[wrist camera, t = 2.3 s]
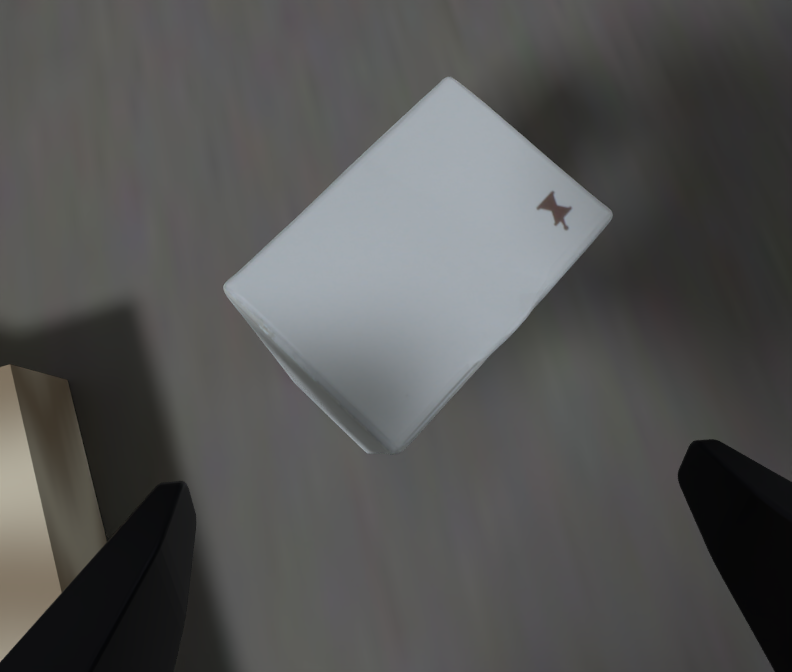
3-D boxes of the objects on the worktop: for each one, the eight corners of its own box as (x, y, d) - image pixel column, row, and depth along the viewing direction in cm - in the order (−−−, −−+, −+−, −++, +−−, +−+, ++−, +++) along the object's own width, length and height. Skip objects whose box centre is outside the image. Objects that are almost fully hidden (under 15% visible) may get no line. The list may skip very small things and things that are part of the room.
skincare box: (393, 272, 22) (455, 60, 10) (472, 344, 21) (630, 211, 10) (284, 381, 20) (209, 282, 9) (367, 459, 20) (404, 467, 8)
